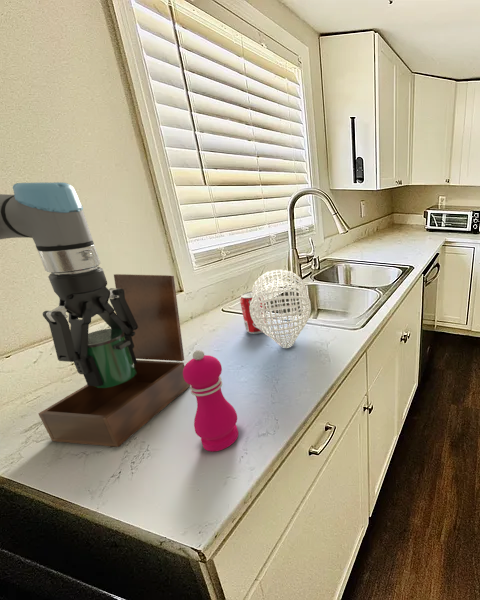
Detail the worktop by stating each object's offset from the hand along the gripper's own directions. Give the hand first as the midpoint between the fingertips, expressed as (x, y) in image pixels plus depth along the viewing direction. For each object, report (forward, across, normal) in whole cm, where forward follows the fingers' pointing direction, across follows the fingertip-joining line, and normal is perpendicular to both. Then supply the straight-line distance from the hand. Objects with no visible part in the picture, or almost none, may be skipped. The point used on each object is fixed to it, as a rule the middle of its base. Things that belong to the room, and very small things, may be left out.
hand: (113, 373), depth 69 cm
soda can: (+10, +41, -8) cm, 43 cm away
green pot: (+1, 0, 0) cm, 1 cm away
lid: (-8, +11, 0) cm, 14 cm away
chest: (+10, 0, 0) cm, 10 cm away
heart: (+10, +31, -23) cm, 40 cm away
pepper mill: (+9, -6, -26) cm, 29 cm away
